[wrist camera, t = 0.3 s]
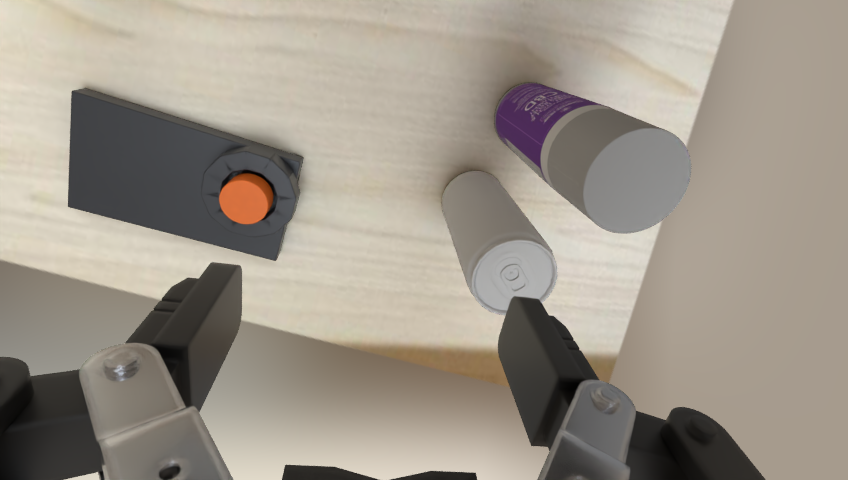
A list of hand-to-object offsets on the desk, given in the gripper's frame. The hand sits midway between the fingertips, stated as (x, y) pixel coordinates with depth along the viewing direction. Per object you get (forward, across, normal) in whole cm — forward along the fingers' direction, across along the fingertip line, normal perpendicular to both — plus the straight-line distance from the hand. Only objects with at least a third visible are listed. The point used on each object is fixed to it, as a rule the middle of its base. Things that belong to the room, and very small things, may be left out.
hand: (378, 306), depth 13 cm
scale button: (+17, +8, +4) cm, 20 cm away
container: (+20, -10, -4) cm, 23 cm away
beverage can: (+20, -7, +3) cm, 22 cm away
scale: (+20, +13, +4) cm, 24 cm away
